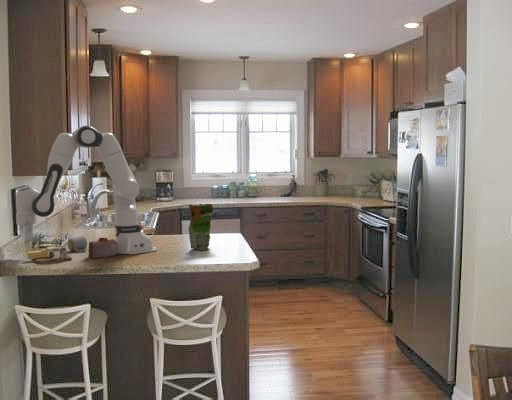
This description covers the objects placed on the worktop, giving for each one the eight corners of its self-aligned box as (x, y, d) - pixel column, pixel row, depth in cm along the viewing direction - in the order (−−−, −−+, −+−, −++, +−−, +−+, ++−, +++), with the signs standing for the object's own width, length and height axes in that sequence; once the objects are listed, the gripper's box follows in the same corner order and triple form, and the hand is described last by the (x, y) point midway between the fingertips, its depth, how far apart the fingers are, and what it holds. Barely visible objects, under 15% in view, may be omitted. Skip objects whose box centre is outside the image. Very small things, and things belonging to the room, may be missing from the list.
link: (55, 254, 278) (55, 246, 278) (57, 256, 274) (57, 247, 273) (27, 257, 272) (26, 248, 271) (28, 259, 267) (27, 250, 267)
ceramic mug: (67, 250, 297) (66, 236, 296) (81, 248, 302) (81, 234, 301) (75, 253, 289) (75, 239, 288) (90, 251, 294) (90, 237, 293)
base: (66, 255, 284) (65, 242, 283) (71, 260, 271) (71, 247, 271) (32, 258, 276) (32, 245, 276) (36, 263, 264) (36, 250, 263)
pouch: (214, 247, 302) (213, 202, 300) (206, 252, 291) (206, 204, 289) (195, 247, 305) (194, 201, 303) (186, 251, 294) (186, 204, 292)
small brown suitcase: (113, 253, 288) (112, 235, 287) (119, 256, 281) (119, 237, 281) (87, 257, 279) (86, 237, 278) (93, 259, 273) (93, 239, 272)
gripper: (35, 222, 267) (36, 251, 268) (30, 217, 285) (30, 244, 286) (21, 223, 264) (22, 252, 265) (16, 218, 281) (17, 245, 283)
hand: (26, 248), depth 275 cm, fingers closed
